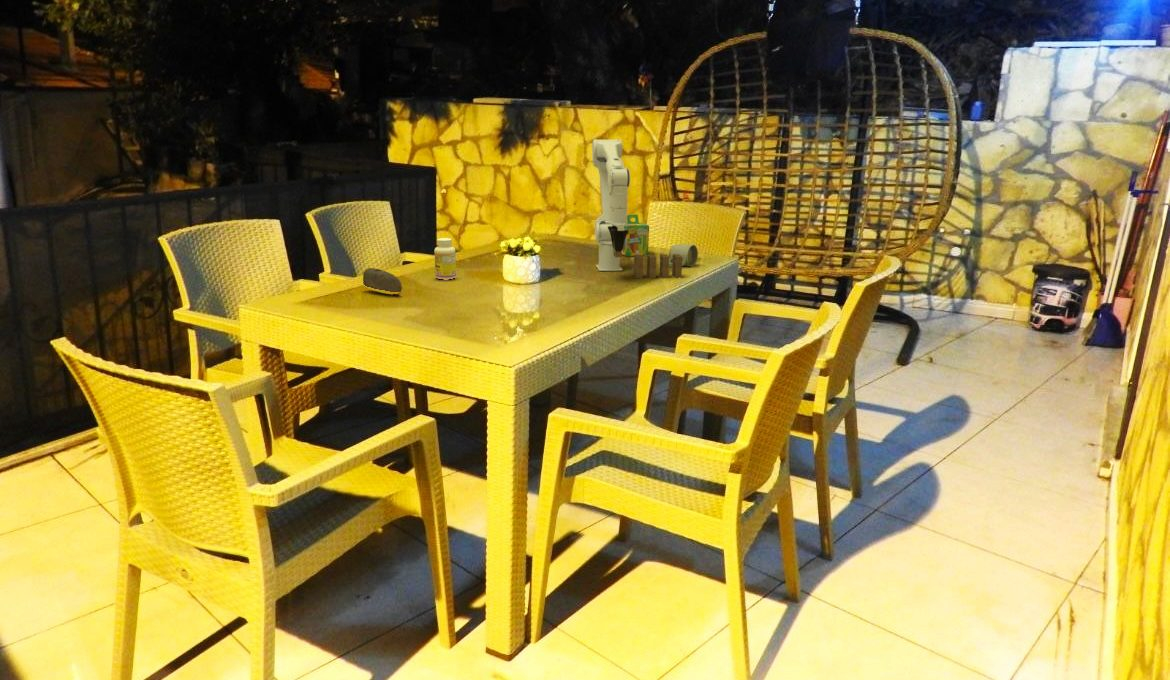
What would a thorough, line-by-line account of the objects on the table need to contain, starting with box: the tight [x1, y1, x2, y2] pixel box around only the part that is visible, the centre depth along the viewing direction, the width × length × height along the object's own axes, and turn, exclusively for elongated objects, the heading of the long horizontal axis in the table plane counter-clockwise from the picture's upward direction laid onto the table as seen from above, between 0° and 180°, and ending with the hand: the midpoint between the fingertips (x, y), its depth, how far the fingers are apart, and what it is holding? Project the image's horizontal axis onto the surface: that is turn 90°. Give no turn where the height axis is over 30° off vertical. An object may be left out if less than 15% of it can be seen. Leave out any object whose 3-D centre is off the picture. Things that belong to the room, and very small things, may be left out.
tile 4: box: [659, 253, 670, 279], centre depth 278 cm, size 5×2×7 cm, turn 7°
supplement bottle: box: [433, 237, 457, 280], centre depth 272 cm, size 7×7×13 cm
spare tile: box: [613, 242, 623, 258], centre depth 273 cm, size 5×2×7 cm, turn 6°
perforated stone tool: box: [362, 267, 403, 293], centre depth 251 cm, size 15×5×7 cm, turn 51°
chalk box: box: [622, 214, 650, 257], centre depth 317 cm, size 9×9×15 cm
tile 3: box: [646, 253, 657, 279], centre depth 278 cm, size 5×2×7 cm, turn 7°
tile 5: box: [671, 254, 683, 279], centre depth 279 cm, size 5×2×7 cm, turn 7°
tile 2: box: [633, 255, 644, 278], centre depth 277 cm, size 5×2×7 cm, turn 7°
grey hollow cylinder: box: [668, 243, 699, 268], centre depth 297 cm, size 11×8×8 cm
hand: (617, 249), depth 273 cm, fingers closed on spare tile, 5 cm apart
